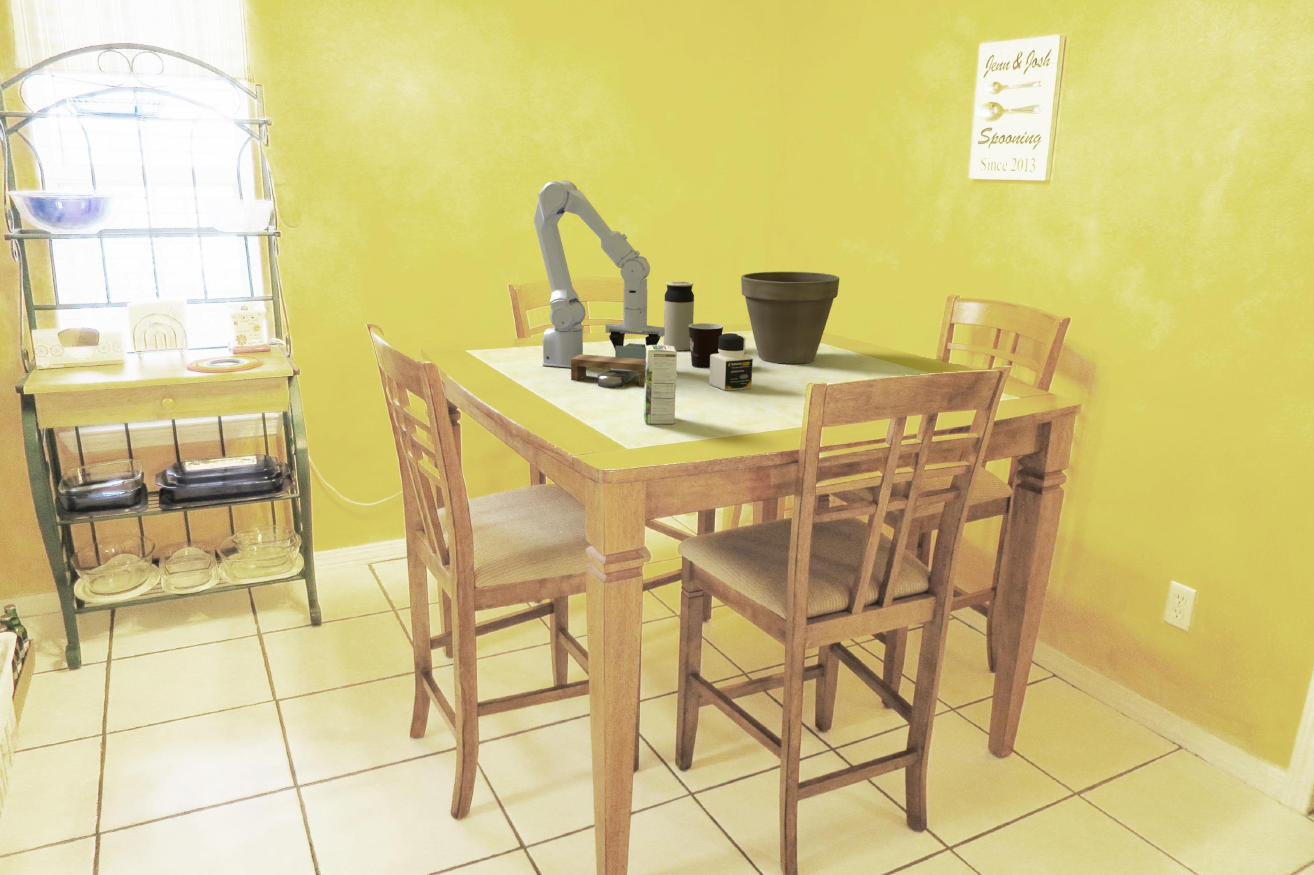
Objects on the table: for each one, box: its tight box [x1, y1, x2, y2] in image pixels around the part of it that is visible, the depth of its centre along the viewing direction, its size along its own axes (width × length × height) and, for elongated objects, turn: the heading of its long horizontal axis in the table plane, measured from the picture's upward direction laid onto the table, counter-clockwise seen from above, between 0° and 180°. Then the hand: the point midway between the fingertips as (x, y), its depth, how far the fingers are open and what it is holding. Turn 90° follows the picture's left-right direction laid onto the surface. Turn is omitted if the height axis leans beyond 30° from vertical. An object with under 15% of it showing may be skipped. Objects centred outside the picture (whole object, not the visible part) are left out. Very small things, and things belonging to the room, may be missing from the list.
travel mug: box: [663, 280, 695, 352], centre depth 248 cm, size 8×8×18 cm
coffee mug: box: [689, 322, 724, 369], centre depth 230 cm, size 12×9×10 cm
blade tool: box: [604, 342, 646, 384], centre depth 217 cm, size 8×17×6 cm, turn 164°
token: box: [597, 372, 625, 389], centre depth 207 cm, size 6×6×2 cm
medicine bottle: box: [708, 332, 754, 392], centre depth 206 cm, size 7×7×12 cm
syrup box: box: [643, 344, 678, 425], centre depth 176 cm, size 6×6×14 cm
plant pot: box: [740, 271, 840, 365], centre depth 237 cm, size 25×25×22 cm
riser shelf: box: [570, 353, 646, 387], centre depth 210 cm, size 18×6×5 cm, turn 74°
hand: (634, 363), depth 223 cm, fingers closed on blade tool, 7 cm apart
